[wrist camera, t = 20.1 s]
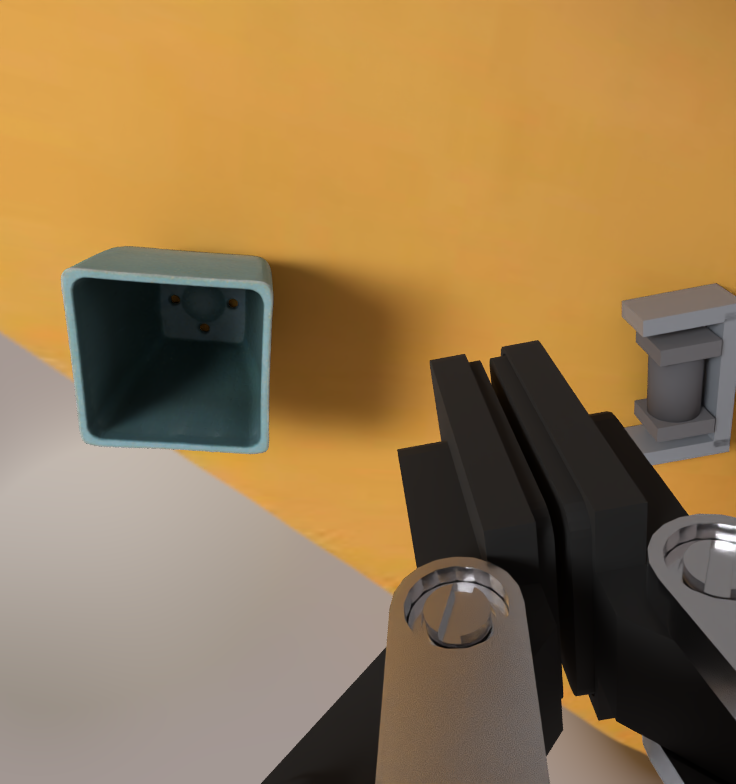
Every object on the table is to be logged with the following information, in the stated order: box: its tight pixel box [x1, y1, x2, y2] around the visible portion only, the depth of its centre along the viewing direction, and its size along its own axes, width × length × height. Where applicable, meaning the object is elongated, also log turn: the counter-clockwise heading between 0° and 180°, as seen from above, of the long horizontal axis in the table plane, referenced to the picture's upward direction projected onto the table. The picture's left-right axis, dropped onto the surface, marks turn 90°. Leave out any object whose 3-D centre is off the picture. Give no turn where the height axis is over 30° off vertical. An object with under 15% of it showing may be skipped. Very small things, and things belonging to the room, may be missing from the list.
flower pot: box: [61, 246, 273, 454], centre depth 34 cm, size 9×9×9 cm
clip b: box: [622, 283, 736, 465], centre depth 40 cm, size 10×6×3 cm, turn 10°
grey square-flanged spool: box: [634, 326, 722, 442], centre depth 40 cm, size 6×3×3 cm, turn 10°
